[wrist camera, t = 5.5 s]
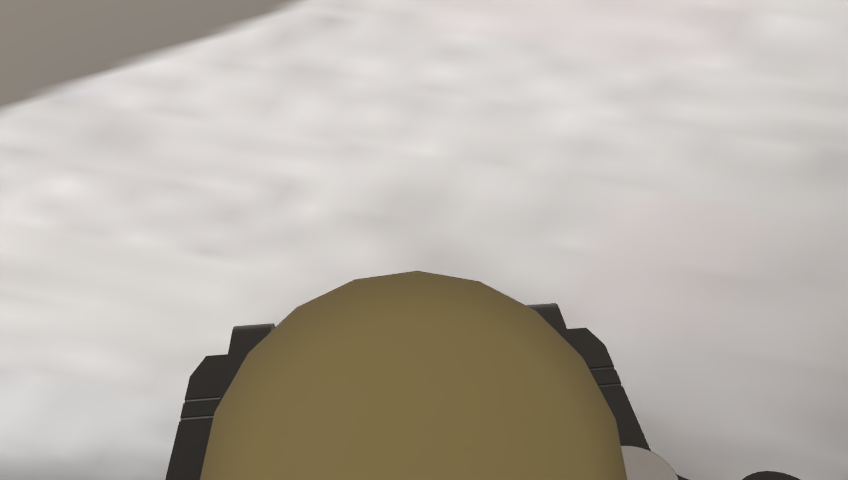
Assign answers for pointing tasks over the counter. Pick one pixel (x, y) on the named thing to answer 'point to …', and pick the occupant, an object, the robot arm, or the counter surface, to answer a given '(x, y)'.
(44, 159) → the counter surface
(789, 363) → the counter surface
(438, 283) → the cork
